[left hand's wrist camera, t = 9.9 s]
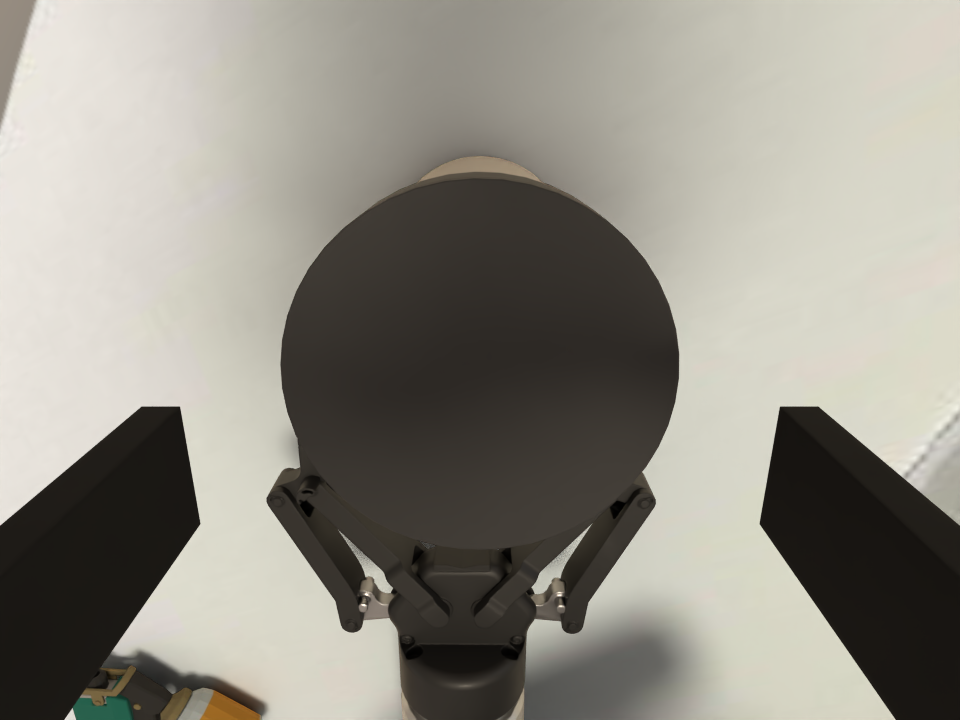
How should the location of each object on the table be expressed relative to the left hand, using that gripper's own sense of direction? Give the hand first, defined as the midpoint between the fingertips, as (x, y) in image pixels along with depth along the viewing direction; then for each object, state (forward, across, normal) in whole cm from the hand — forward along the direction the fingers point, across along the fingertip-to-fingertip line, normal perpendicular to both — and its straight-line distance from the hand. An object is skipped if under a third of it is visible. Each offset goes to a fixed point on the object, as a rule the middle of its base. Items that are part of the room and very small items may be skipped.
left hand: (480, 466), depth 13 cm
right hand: (+19, +1, +4) cm, 19 cm away
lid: (+5, 0, 0) cm, 5 cm away
